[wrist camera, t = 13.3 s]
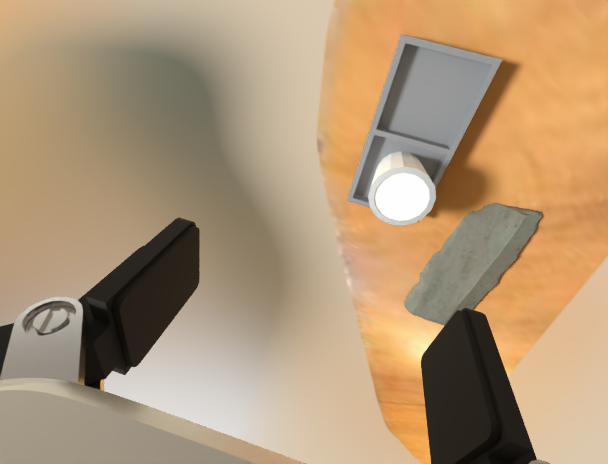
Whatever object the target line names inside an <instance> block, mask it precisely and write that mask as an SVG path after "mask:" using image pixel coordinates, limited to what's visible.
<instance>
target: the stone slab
mask: <svg viewBox="0 0 608 464" xmlns="http://www.w3.org/2000/svg"><path fill="white" fill-rule="evenodd" d="M541 218H542V213H541V212H539V211H533V210H529V209H523V208H518V207H512V206H505V205H501V204H498V203H492V204H489V205H486V206H484V207H483V208H482V209H481V210H477V211H472V212H470V213H469V214H468V215H467V216H466V217H465V218H464V219H463V220H462V222H461V223H460V224H459V226H458V227H457V228H456V229H455V231H454V232H453V233H452V234H451V235H450V236H449V238H448V239H447V240H446V241H445V242H444V244H443V247H442V249H441V250H440V251H439V252H437V253H435V254H433V255H432V257H431V260H430V262H429V263H427V264H426V266H425V269H424V271H423V272H422V273H421V274H420V282H419V283H418V284H417V285H415V286H414V287H413V288H412V290H411V292H410V294H409V295H408V296H407V299H406V301H405V302H404V303H405V307H406V309H407V310H408V311H409V312H410V313H412V314H413V315H416V316H419V317H422V318H424V319H426V320H429V321H432V322H435V323H439V324H441V325H446V324H447V322H448V321H449V320H450V318H451V317H452V316H453V314H454V313H455V312H456V311H457V310H460V311H461V310H462V309H464V308H468V309H471V310H473V309H474V307H475V306H476V304H478V303H479V302H480V301H481V299H482V298H483V297H484V296H485V295H486V294H487V292H489V291H490V290H491V289H492V288H493V287H494V286H495V285H497V282H498V279H499V277H500V276H501V274H502V273H503V272H504V271H505V270H507V269H508V268H509V266H510V265H511V264H512V263H513V262H514V261H515V260H516V259H517V256H518V254H519V253H520V251H521V250H522V248H523V247H524V245H526V243H527V242H528V239H529V238H530V236H532V235H533V233H534V231H535V230H536V228H537V222H538V221H539V220H540V219H541Z"/></svg>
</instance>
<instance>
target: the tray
mask: <svg viewBox="0 0 608 464" xmlns="http://www.w3.org/2000/svg"><path fill="white" fill-rule="evenodd" d="M501 61H502V59H498V58H494V57H490V56H486V55H482V54H478V53H474V52H470V51H466V50H462V49H458V48H454V47H450V46H446V45H442V44H438V43H434V42H430V41H426V40H422V39H418V38H414V37H410V36H406V35H402V34H401V36H400V39H399V42H398V45H397V48H396V51H395V54H394V57H393V60H392V63H391V66H390V69H389V72H388V75H387V78H386V81H385V84H384V87H383V90H382V93H381V96H380V100H379V103H378V106H377V109H376V112H375V115H374V118H373V121H372V124H371V127H370V130H369V133H368V136H367V139H366V142H365V145H364V148H363V151H362V154H361V157H360V160H359V163H358V166H357V169H356V173H355V176H354V179H353V182H352V185H351V188H350V191H349V194H348V198H347V201H349V202H353V203H356V204H360V205H363V206H366V207H370V204H369V199H368V195H369V191H370V187H371V184H372V181H373V178H374V175H375V172H376V170H377V167H378V165H379V163H380V162H381V161H382V159H383V158H385V157H386V156H388V155H389V154H391V153H395V152H400V151H402V152H407V153H411V154H413V155H414V156H416V157H417V158H418V159H419V161H420V162H421V164H422V166H423V167H424V169H425V171H426V172H427V174H428V175H429V177H430V179H431V180H432V182H433V184H434V185H435V190H436V188H437V186H438V184H439V182H440V180H441V178H442V176H443V174H444V172H445V170H446V168H447V166H448V164H449V162H450V160H451V158H452V157H453V155H454V153H455V151H456V149H457V147H458V145H459V143H460V141H461V139H462V137H463V135H464V133H465V131H466V129H467V127H468V125H469V124H470V122H471V120H472V118H473V116H474V114H475V112H476V110H477V108H478V106H479V104H480V102H481V100H482V98H483V96H484V94H485V92H486V91H487V89H488V87H489V85H490V83H491V81H492V79H493V77H494V75H495V73H496V71H497V69H498V67H499V65H500V63H501ZM419 221H420V220H419ZM419 221H417V222H419Z"/></svg>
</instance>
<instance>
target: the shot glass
mask: <svg viewBox="0 0 608 464" xmlns="http://www.w3.org/2000/svg"><path fill="white" fill-rule="evenodd" d="M368 199H369V204H370V208H371V210H372V211H373V213H374V214H375V215H376V217H378V218H379V219H381V220H382V221H384V222H386V223H389V224H394V225H398V226H399V225H407V224H412V223H414V222H417V221H419V220H421V219H423V218H424V217H425V216H426V215H427V214H428V213H429V212H430V211H431V210H432V207H433V205H434V202H435V200H436V191H435V185H434V184H433V182H432V180H431V179H430V177H429V175H428V174H427V172H426V171H425V169H424V167H423V166H422V164H421V162H420V161H419V159H418V158H417V157H416V156H414V155H413V154H411V153H407V152H402V151H400V152H395V153H391V154H389V155H388V156H386V157H385V158H383V159H382V161H381V162H380V163H379V165H378V167H377V170H376V172H375V175H374V178H373V181H372V184H371V187H370V191H369V195H368Z"/></svg>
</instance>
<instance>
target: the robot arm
mask: <svg viewBox="0 0 608 464" xmlns="http://www.w3.org/2000/svg"><path fill="white" fill-rule="evenodd" d="M198 284H199V228H197V227H196V225H195V223H194V222H192V221H188V220H185V219H182V218H177V219H175V220H174V221H173V222H172V223H171V224H169V225H168V226H167V227H166V228H165V229H164V230H162V231H161V232H160V233H159V234H158V235H157V236H155V237H154V238H153V239H152V240H151V241H150V242H148V243H147V244H146V245H145V246H142V247H141V248H139V249H138V250H137V251H135V252H134V253H133V254H132V255H131V256H130V257H128V258H127V259H126V260H125V261H124V262H123V263H121V264H120V265H119V266H118V267H117V268H116V269H114V270H113V271H112V272H111V273H110V274H108V275H107V276H106V277H105V278H104V279H102V280H101V281H100V282H99V283H98V284H97V285H95V286H94V287H93V288H92V289H91V290H90V291H88V292H87V293H86V294H85V295H84V296H82V297H81V298H80V299H79V300H76V299H73V298H70V297H64V296H62V297H52V298H48V299H44V300H42V301H39V302H37V303H35V304H33V305H31V306H30V307H28V308H27V309H25V310H24V311H23V312H22V313H21V314H20V315H19V316H18V317H17V319H16V321H15V323H13V324H9V325H5V326H1V327H0V464H305V463H302V462H300V461H297V460H294V459H291V458H289V457H286V456H283V455H281V454H278V453H275V452H272V451H270V450H267V449H264V448H262V447H259V446H256V445H253V444H251V443H248V442H245V441H243V440H240V439H237V438H234V437H232V436H229V435H226V434H223V433H220V432H218V431H215V430H212V429H210V428H207V427H204V426H201V425H199V424H196V423H193V422H190V421H188V420H185V419H182V418H179V417H177V416H174V415H171V414H168V413H166V412H163V411H160V410H157V409H154V408H151V407H149V406H146V405H143V404H140V403H137V402H134V401H131V400H128V399H125V398H123V397H120V396H117V395H114V394H111V393H108V392H104V379H106V378H107V376H108V375H109V374H110V373H111V371H115V372H118V373H121V374H123V375H126V373H127V372H128V371H129V369H130V368H131V367H136V366H137V365H138V364H139V363H140V362H141V361H142V360H143V358H144V357H145V356H146V354H147V353H148V352H149V350H150V349H151V348H152V346H153V345H154V344H155V343H156V341H157V340H158V339H159V337H160V336H161V335H162V333H163V332H164V331H165V329H166V328H167V327H168V325H169V324H170V323H171V321H172V320H173V319H174V317H175V316H176V315H177V314H178V312H179V311H180V310H181V308H182V307H183V306H184V304H185V303H186V302H187V300H188V299H189V298H190V296H191V295H192V294H193V292H194V291H195V290H196V288H197V286H198ZM421 369H422V378H423V388H424V397H425V407H426V417H427V426H428V436H429V446H430V455H431V464H550V463H548V462H545V461H541V460H537V459H536V456H535V453H534V450H533V447H532V444H531V442H530V439H529V436H528V433H527V430H526V428H525V425H524V422H523V419H522V416H521V413H520V410H519V408H518V405H517V402H516V400H515V396H514V394H513V391H512V388H511V385H510V382H509V380H508V377H507V374H506V371H505V368H504V366H503V363H502V360H501V357H500V354H499V352H498V349H497V346H496V343H495V340H494V337H493V335H492V332H491V329H490V326H489V323H488V320H487V318H486V316H485V314H483V313H481V312H478V311H475V310H471V309H468V308H464V309H462V310H461V311H460V310H457V311H456V312H455V313H454V314H453V316H452V317H451V318H450V320H449V321H448V322H447V324H446V325H445V326H444V328H443V329H442V330H441V332H440V333H439V334H438V335H437V337H436V338H435V339H434V341H433V342H432V343H431V345H430V346H429V347H428V349H427V350H426V351H425V353H424V354H423V356H422V359H421Z"/></svg>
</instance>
